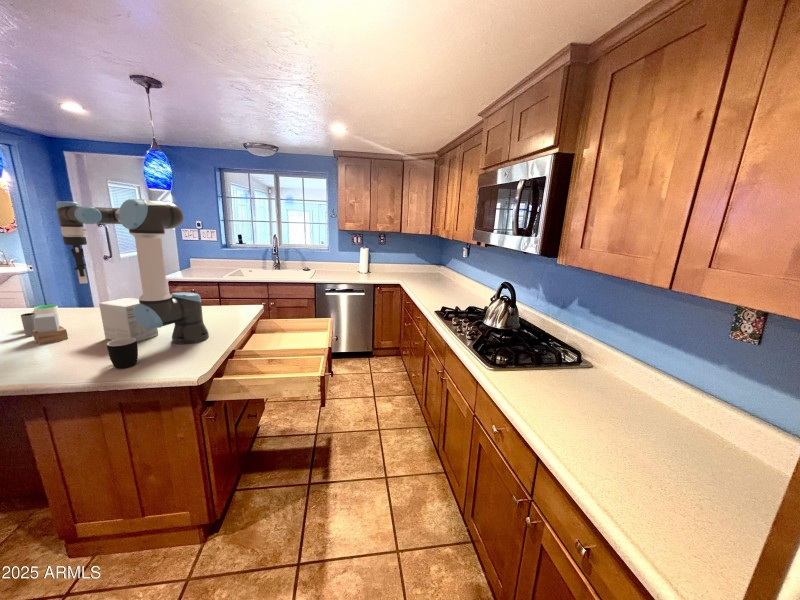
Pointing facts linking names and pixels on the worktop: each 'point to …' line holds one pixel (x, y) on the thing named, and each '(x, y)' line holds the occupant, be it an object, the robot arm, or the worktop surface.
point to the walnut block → (50, 336)
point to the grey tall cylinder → (29, 323)
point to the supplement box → (123, 320)
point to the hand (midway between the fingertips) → (83, 281)
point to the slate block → (47, 322)
